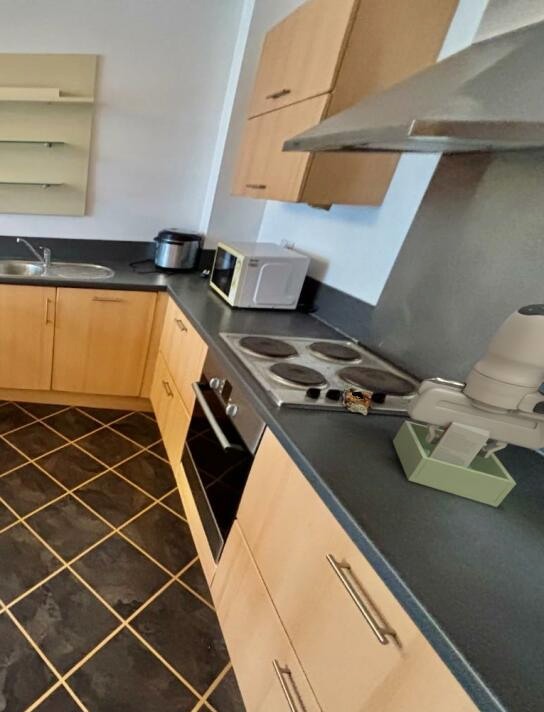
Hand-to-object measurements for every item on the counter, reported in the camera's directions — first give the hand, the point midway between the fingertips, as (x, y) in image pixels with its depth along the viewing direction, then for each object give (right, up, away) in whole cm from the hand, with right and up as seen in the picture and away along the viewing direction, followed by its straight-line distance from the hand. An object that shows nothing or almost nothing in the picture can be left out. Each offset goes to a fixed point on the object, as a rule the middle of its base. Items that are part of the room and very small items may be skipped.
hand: (454, 448), depth 84 cm
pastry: (+1, +7, +26) cm, 28 cm away
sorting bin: (0, -5, +3) cm, 6 cm away
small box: (0, -4, +2) cm, 4 cm away
